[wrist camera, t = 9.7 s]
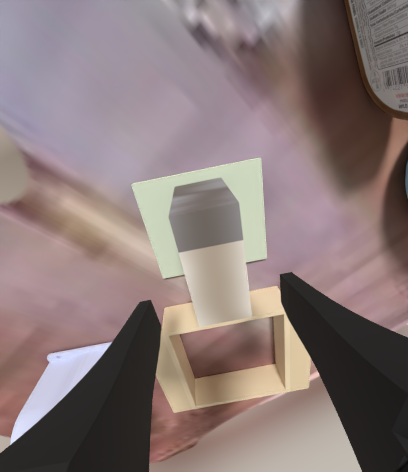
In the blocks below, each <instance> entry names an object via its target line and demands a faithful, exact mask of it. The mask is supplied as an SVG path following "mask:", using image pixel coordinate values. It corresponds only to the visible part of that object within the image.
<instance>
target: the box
mask: <svg viewBox="0 0 408 472" xmlns="http://www.w3.org/2000/svg"><path fill="white" fill-rule="evenodd" d="M168 217H169V221H170V224H171V228H172V231H173V235H174V238H175V242H176V246H177V249H178V253H179V256H180V260H181V263H182V267H183V270H184V274H185V278H186V281H187V285H188V288H189V292H190V295H191V299H192V303H193V306H194V310H195V313H196V317H197V320H198V324H199V327H202V326H207V325H212V324H218V323H223V322H228V321H233V320H239V319H244V318H249V317H252V311H251V303H250V294H249V285H248V276H247V267H246V259H245V250H244V241H243V232H242V224H241V215H240V206H239V202H238V200H237V199H236V197H235V196H234V195H233V193H232V192H231V191H230V189H229V188H228V186H227V185H226V184H225V182H224V181H223V179H222V178H221V177H220V178H215V179H210V180H205V181H200V182H195V183H190V184H186V185H181V186H176V187H175V188H174V192H173V197H172V202H171V207H170V211H169V216H168Z"/></svg>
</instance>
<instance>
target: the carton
mask: <svg viewBox="0 0 408 472" xmlns="http://www.w3.org/2000/svg"><path fill="white" fill-rule="evenodd" d="M249 294H250V303H251V311H252V317H249V318H244V319H239V320H233V321H228V322H223V323H218V324H212V325H207V326H202V327H199V324H198V320H197V317H196V313H195V310H194V306H193V303H192V302H191V303H186V304H181V305H175V306H170V307H165V308H164V316H163V324H162V331H161V341H160V350H159V357H158V364H157V370H156V377H157V379H158V381H159V383H160V385H161V387H162V389H163V391H164V393H165V395H166V397H167V400H168V402H169V404H170V406H171V408H172V410H173V412H174V413H176V412H181V411H187V410H192V409H197V408H203V407H208V406H214V405H219V404H225V403H230V402H235V401H241V400H246V399H252V398H257V397H263V396H268V395H273V394H279V393H284V392H290V391H295V390H301V389H306V388H309V377H310V363H311V357H310V356H309V354H308V352H307V350H306V349H305V347H304V345H303V344H302V342H301V340H300V339H299V337H298V335H297V333H296V332H295V330H294V328H293V327H292V325H291V323H290V321H289V320H288V317H287V315H286V313H285V311H284V308H283V306H282V304H281V292H280V290H279V289H278V287H277V286H274V287H269V288H263V289H258V290H253V291H249ZM272 316H273V322H274V342H275V362H276V364H271V365H266V366H260V367H255V368H250V369H244V370H239V371H234V372H228V373H223V374H217V375H212V376H207V377H201V378H196V379H195V377H194V375H193V372H192V369H191V366H190V363H189V360H188V358H187V355H186V352H185V349H184V346H183V343H182V340H181V338H180V335H179V334H183V333H188V332H193V331H198V330H203V329H209V328H214V327H219V326H224V325H230V324H235V323H240V322H245V321H251V320H256V319H261V318H266V317H272Z"/></svg>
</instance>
